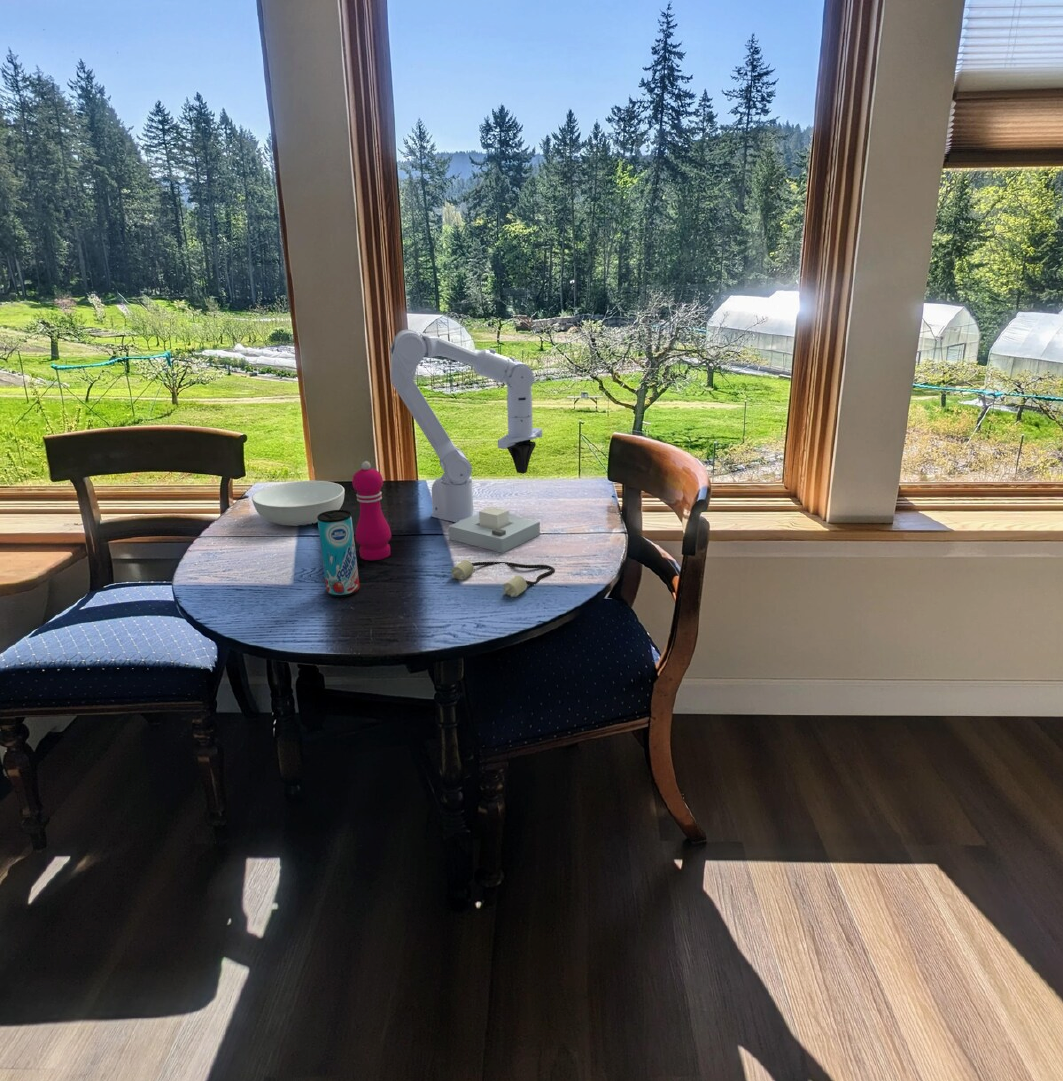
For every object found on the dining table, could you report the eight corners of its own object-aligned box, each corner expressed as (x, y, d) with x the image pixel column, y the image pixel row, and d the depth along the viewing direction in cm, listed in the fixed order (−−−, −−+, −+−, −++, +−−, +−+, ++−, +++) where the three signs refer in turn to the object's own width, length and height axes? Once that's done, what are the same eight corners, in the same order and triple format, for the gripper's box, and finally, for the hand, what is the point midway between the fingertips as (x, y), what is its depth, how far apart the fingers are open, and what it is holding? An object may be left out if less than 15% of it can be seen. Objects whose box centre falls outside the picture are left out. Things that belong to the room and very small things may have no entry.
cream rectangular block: (480, 537, 165) (479, 511, 162) (491, 532, 168) (490, 506, 165) (498, 541, 162) (496, 515, 160) (509, 536, 165) (508, 510, 163)
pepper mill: (399, 550, 158) (390, 458, 151) (382, 563, 152) (372, 467, 145) (369, 547, 161) (359, 456, 154) (351, 559, 154) (339, 464, 147)
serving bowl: (279, 542, 165) (274, 512, 163) (242, 520, 180) (237, 492, 178) (363, 519, 178) (360, 492, 175) (322, 501, 193) (319, 475, 190)
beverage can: (330, 600, 136) (319, 522, 130) (324, 588, 141) (314, 512, 135) (362, 594, 138) (354, 517, 133) (356, 583, 143) (347, 508, 138)
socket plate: (449, 538, 164) (448, 522, 163) (487, 522, 174) (486, 506, 173) (502, 552, 156) (502, 535, 154) (539, 534, 165) (539, 518, 164)
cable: (498, 556, 155) (497, 540, 154) (563, 574, 146) (563, 557, 145) (446, 581, 144) (445, 564, 143) (513, 602, 135) (513, 584, 133)
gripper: (514, 422, 166) (516, 482, 171) (552, 411, 177) (553, 467, 181) (489, 419, 170) (492, 477, 175) (528, 408, 181) (529, 463, 185)
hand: (521, 472), depth 178 cm, fingers closed
